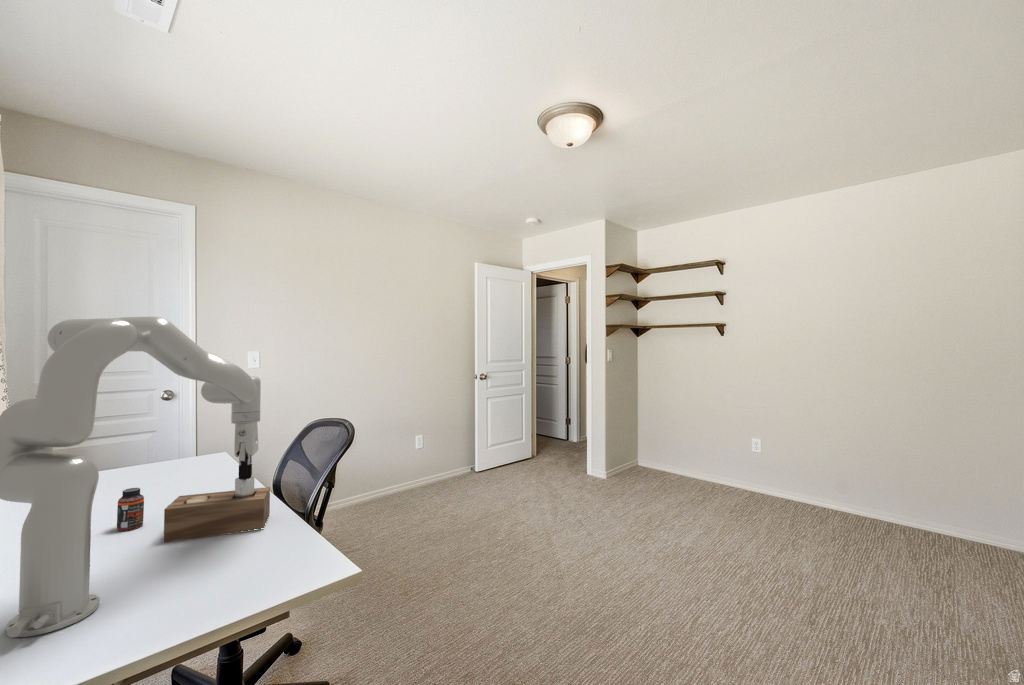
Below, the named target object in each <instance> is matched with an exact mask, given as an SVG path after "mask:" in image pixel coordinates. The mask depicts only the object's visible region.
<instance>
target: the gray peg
mask: <svg viewBox="0 0 1024 685" xmlns="http://www.w3.org/2000/svg"><path fill="white" fill-rule="evenodd" d="M254 489H255V476H254V475H252V476H251V478H245V479H239V477H236V478H235V479H234V491H235V498H245V497H254Z"/></svg>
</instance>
